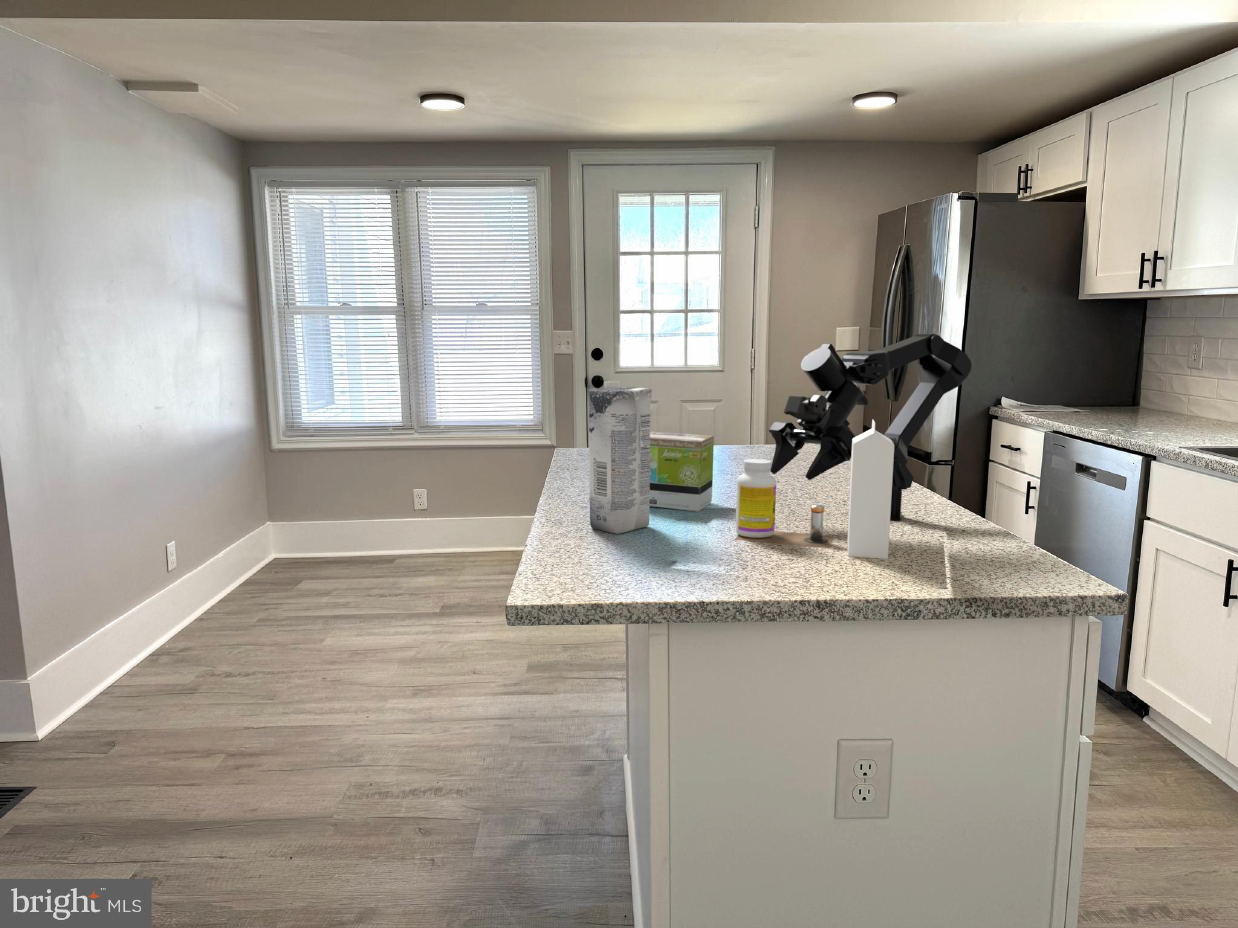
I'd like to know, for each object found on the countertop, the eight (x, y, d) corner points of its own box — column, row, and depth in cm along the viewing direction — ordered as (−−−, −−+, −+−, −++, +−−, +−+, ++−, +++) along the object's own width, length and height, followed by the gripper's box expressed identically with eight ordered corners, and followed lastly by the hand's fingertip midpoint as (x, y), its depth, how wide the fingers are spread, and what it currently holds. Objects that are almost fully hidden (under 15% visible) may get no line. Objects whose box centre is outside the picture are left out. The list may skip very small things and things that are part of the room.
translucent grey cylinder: (823, 539, 135) (825, 504, 134) (821, 542, 133) (823, 507, 132) (810, 538, 136) (811, 503, 135) (808, 541, 134) (810, 506, 133)
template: (833, 541, 138) (834, 536, 138) (828, 553, 130) (828, 547, 130) (744, 533, 143) (744, 528, 143) (734, 544, 136) (734, 538, 136)
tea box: (630, 506, 166) (630, 435, 164) (646, 497, 175) (647, 430, 173) (699, 512, 161) (701, 439, 158) (713, 503, 170) (714, 433, 167)
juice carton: (656, 526, 149) (658, 380, 144) (618, 536, 141) (618, 383, 137) (621, 519, 155) (621, 378, 150) (582, 528, 147) (581, 381, 143)
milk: (847, 562, 126) (853, 422, 122) (846, 552, 131) (852, 418, 128) (888, 565, 124) (895, 423, 121) (885, 554, 130) (892, 419, 126)
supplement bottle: (778, 539, 135) (781, 464, 134) (739, 539, 135) (742, 463, 133) (769, 529, 142) (771, 458, 140) (732, 529, 142) (734, 458, 140)
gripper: (775, 378, 150) (730, 442, 146) (849, 379, 134) (800, 451, 130) (808, 417, 155) (764, 480, 151) (883, 422, 139) (836, 492, 135)
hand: (789, 475), depth 142 cm, fingers open, 9 cm apart
